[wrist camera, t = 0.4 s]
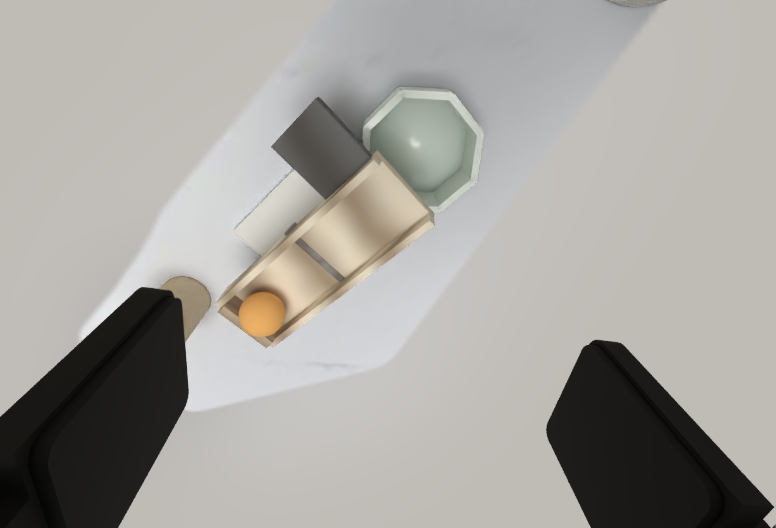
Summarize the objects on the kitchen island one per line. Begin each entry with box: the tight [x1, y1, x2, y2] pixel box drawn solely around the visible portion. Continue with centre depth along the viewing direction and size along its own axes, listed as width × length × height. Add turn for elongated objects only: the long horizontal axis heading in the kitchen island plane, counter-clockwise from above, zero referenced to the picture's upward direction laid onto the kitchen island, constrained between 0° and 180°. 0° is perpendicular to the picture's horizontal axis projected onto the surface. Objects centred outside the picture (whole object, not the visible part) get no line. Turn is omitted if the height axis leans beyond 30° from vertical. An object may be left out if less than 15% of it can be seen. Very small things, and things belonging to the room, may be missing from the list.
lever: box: [216, 97, 435, 348], centre depth 33 cm, size 20×13×3 cm, turn 132°
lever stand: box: [233, 170, 324, 256], centre depth 39 cm, size 16×13×7 cm
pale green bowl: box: [363, 86, 484, 213], centre depth 36 cm, size 10×10×5 cm
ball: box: [239, 292, 285, 337], centre depth 35 cm, size 4×4×4 cm
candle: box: [160, 277, 211, 342], centre depth 41 cm, size 6×6×10 cm
